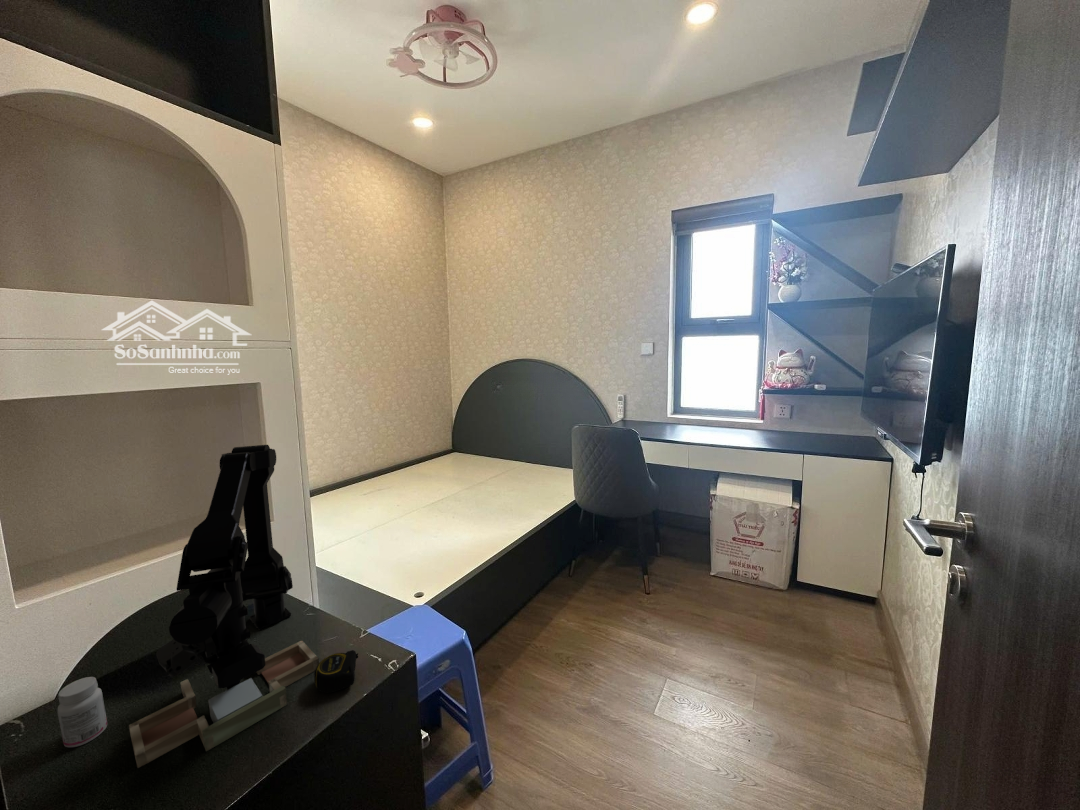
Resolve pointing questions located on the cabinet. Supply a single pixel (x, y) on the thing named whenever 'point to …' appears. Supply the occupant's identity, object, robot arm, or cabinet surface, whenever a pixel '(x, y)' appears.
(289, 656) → the box
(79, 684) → the pill bottle
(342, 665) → the tape measure
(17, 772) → the cabinet surface
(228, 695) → the block
